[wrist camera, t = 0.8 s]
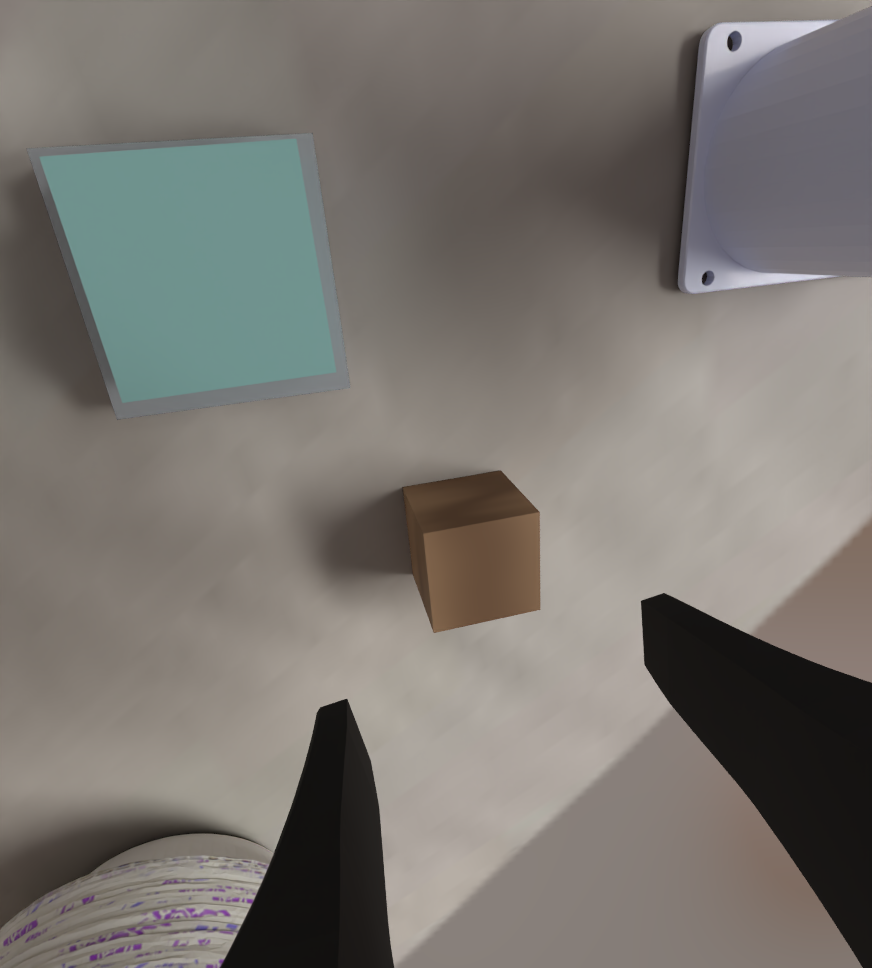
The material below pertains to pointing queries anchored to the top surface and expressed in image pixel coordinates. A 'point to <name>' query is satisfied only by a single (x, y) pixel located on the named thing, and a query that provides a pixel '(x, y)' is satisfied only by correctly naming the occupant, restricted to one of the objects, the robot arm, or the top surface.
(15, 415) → the top surface
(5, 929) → the paper bowls
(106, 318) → the tower mid
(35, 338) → the top surface
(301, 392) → the tower base
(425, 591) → the walnut block
